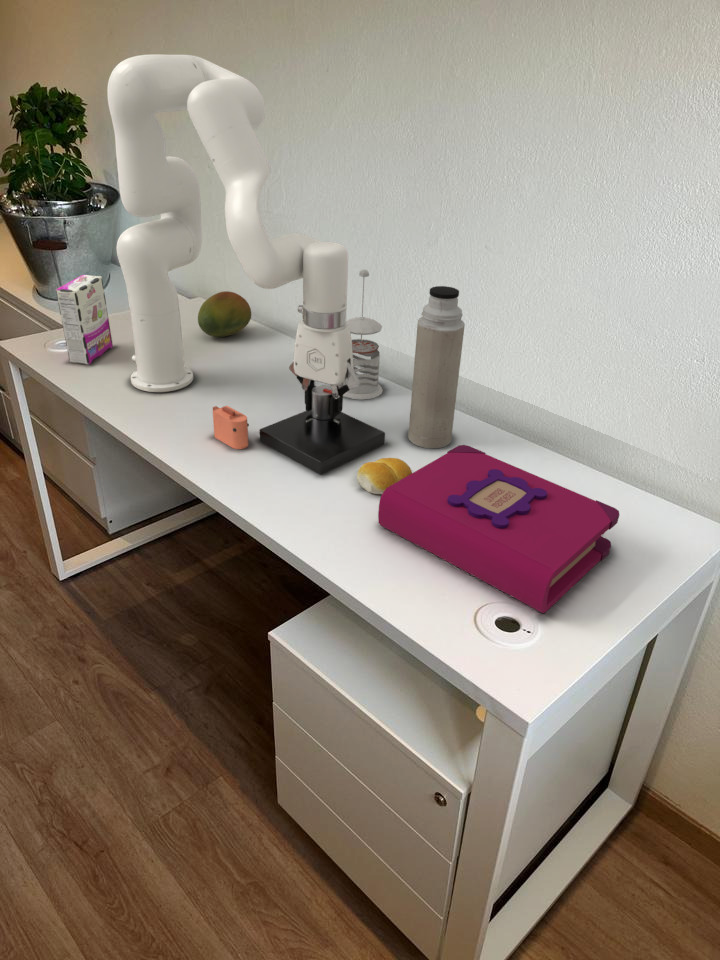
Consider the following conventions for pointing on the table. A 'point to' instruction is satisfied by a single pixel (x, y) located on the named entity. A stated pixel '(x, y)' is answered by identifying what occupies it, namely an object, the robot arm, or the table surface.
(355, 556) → the table surface
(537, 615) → the table surface
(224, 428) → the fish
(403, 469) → the bread roll
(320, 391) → the knob
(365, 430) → the hot plate
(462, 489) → the book
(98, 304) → the candy bar box
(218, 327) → the fruit
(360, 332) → the french press
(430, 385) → the thermos bottle
